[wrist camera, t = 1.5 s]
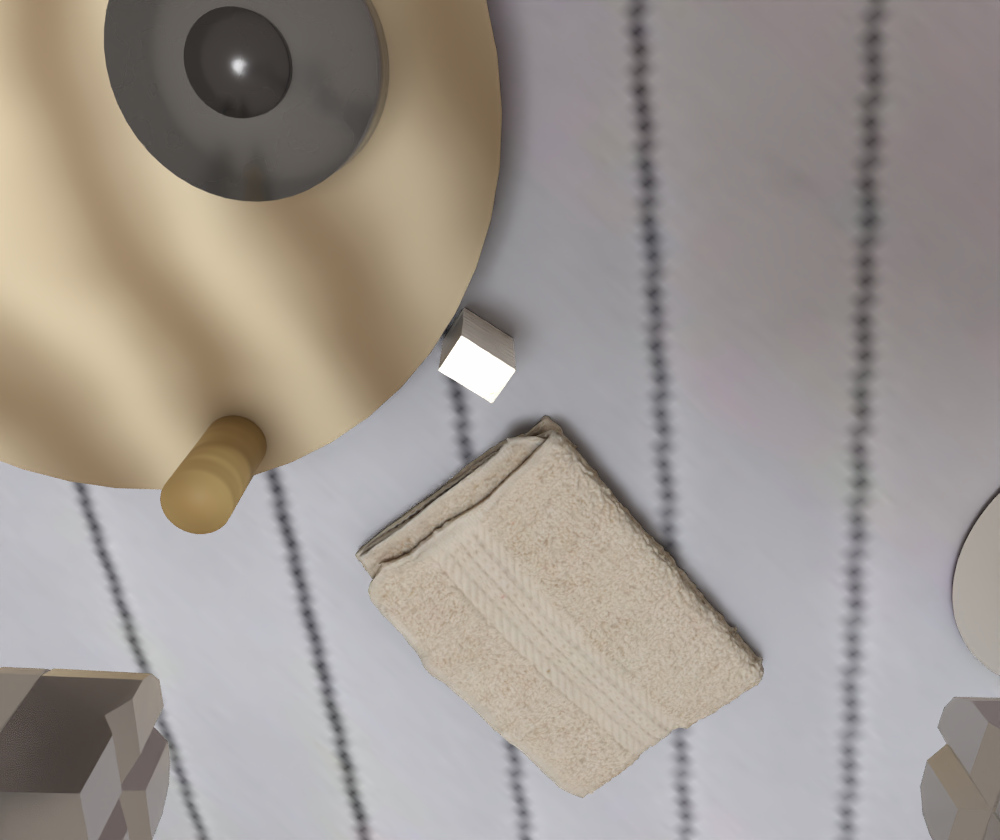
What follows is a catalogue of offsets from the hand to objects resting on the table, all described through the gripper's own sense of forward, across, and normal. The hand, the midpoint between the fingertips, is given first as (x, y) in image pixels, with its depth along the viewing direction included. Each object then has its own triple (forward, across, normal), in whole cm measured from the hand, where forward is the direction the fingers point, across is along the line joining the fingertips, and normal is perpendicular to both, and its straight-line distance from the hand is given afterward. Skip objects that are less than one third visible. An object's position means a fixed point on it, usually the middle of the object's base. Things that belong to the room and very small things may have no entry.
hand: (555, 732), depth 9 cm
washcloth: (+28, -4, +17) cm, 33 cm away
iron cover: (+24, +8, -6) cm, 26 cm away
